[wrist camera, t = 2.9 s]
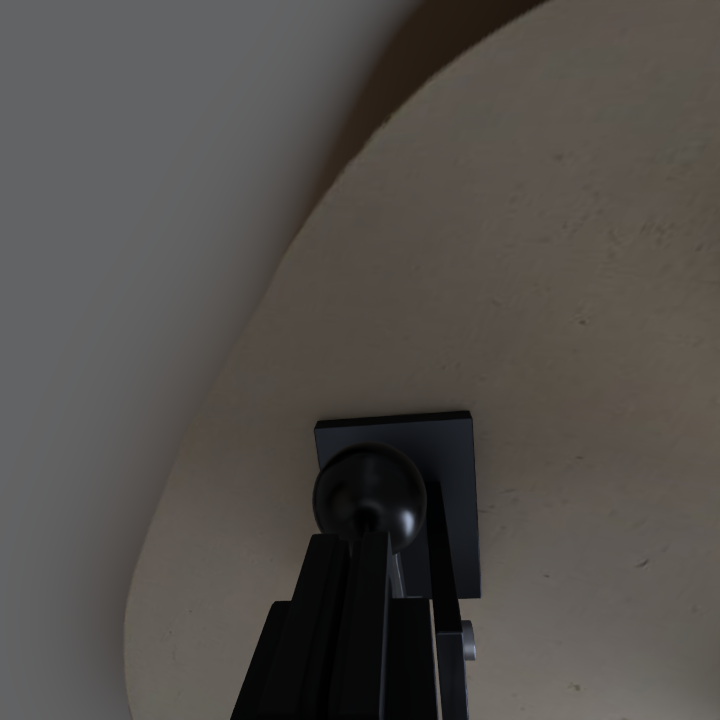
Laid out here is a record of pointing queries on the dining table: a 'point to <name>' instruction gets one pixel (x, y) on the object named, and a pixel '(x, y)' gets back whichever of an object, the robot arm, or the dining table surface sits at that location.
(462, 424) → the switch bracket
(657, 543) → the dining table surface
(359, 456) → the switch lever
